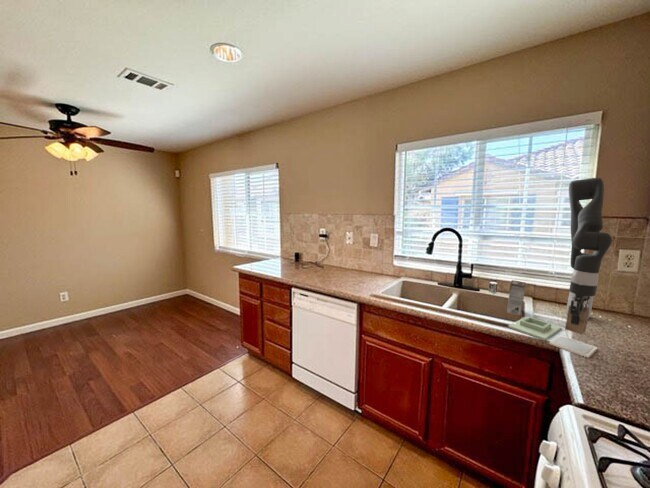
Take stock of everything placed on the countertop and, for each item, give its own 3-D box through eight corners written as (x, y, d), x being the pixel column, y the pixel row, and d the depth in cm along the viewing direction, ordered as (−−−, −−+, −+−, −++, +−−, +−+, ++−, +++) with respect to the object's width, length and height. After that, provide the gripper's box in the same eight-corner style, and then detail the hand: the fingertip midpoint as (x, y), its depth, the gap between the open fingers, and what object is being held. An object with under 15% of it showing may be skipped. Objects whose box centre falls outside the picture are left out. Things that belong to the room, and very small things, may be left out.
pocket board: (526, 317, 136) (527, 312, 135) (561, 329, 124) (562, 323, 123) (508, 327, 125) (509, 321, 124) (544, 340, 113) (545, 333, 113)
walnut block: (569, 326, 111) (573, 303, 110) (585, 331, 107) (589, 307, 105) (565, 329, 108) (569, 306, 107) (581, 334, 104) (585, 310, 103)
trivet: (559, 336, 117) (559, 334, 117) (597, 349, 107) (597, 346, 107) (548, 343, 110) (549, 341, 110) (588, 358, 100) (588, 355, 100)
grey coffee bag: (507, 307, 149) (511, 279, 146) (522, 310, 145) (526, 282, 142) (506, 312, 142) (510, 283, 139) (521, 315, 138) (525, 286, 135)
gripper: (577, 277, 111) (570, 315, 114) (565, 282, 104) (558, 323, 106) (602, 281, 105) (594, 322, 108) (591, 287, 97) (583, 330, 100)
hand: (576, 322), depth 107 cm, fingers closed on walnut block, 5 cm apart
